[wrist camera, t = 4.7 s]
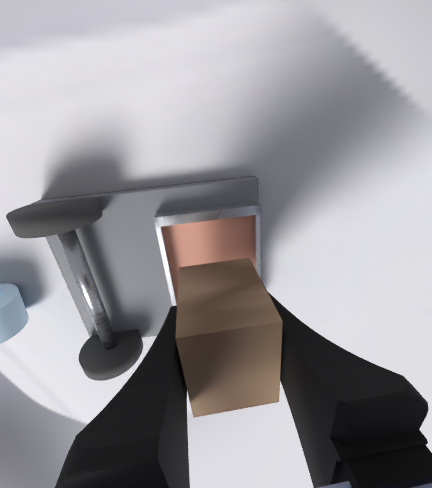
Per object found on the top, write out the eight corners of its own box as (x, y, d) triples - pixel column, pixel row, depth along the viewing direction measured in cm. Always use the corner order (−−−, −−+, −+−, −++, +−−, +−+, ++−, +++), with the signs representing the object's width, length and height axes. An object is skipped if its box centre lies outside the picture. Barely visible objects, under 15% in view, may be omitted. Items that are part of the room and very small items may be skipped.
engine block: (249, 257, 13) (282, 321, 9) (251, 323, 15) (278, 401, 11) (179, 267, 13) (175, 338, 8) (191, 333, 15) (193, 417, 11)
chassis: (253, 176, 16) (276, 189, 12) (255, 311, 21) (272, 352, 17) (37, 200, 15) (-18, 223, 11) (95, 336, 20) (73, 385, 16)
